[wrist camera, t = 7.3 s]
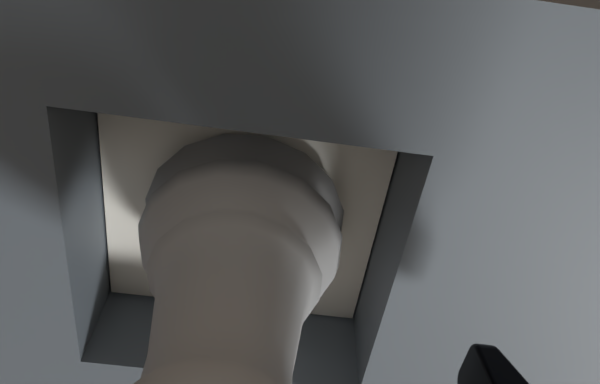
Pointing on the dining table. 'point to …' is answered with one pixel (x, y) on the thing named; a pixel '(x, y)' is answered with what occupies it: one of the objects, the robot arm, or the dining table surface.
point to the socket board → (329, 157)
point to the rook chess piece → (235, 259)
